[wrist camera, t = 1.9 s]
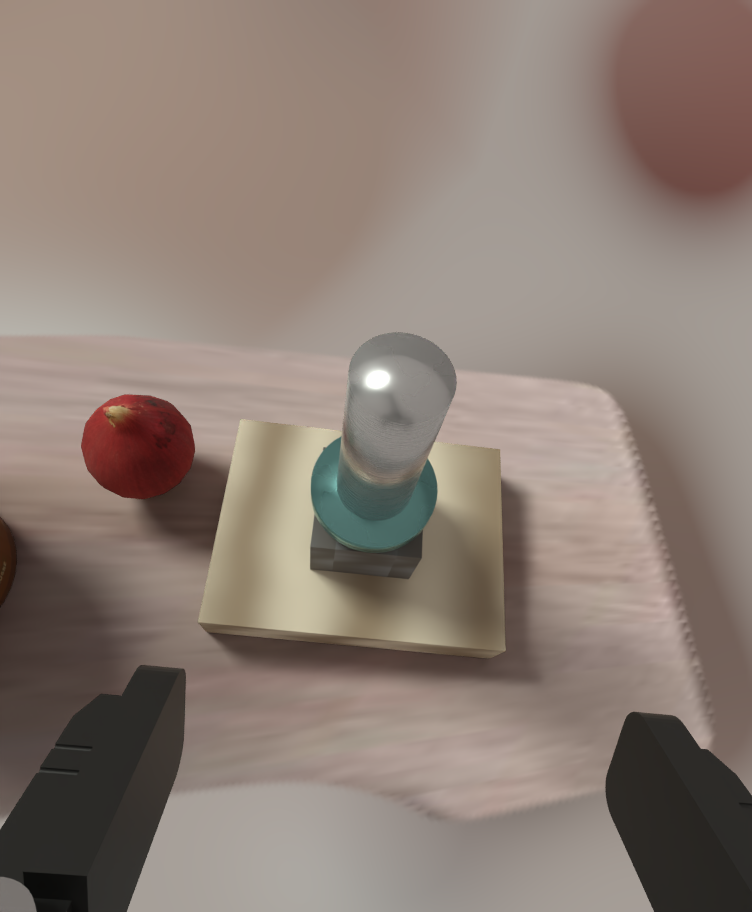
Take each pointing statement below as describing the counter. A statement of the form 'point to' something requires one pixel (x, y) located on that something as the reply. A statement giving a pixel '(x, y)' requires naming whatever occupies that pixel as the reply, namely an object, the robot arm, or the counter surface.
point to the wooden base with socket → (355, 556)
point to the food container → (6, 560)
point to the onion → (138, 446)
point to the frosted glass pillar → (385, 445)
